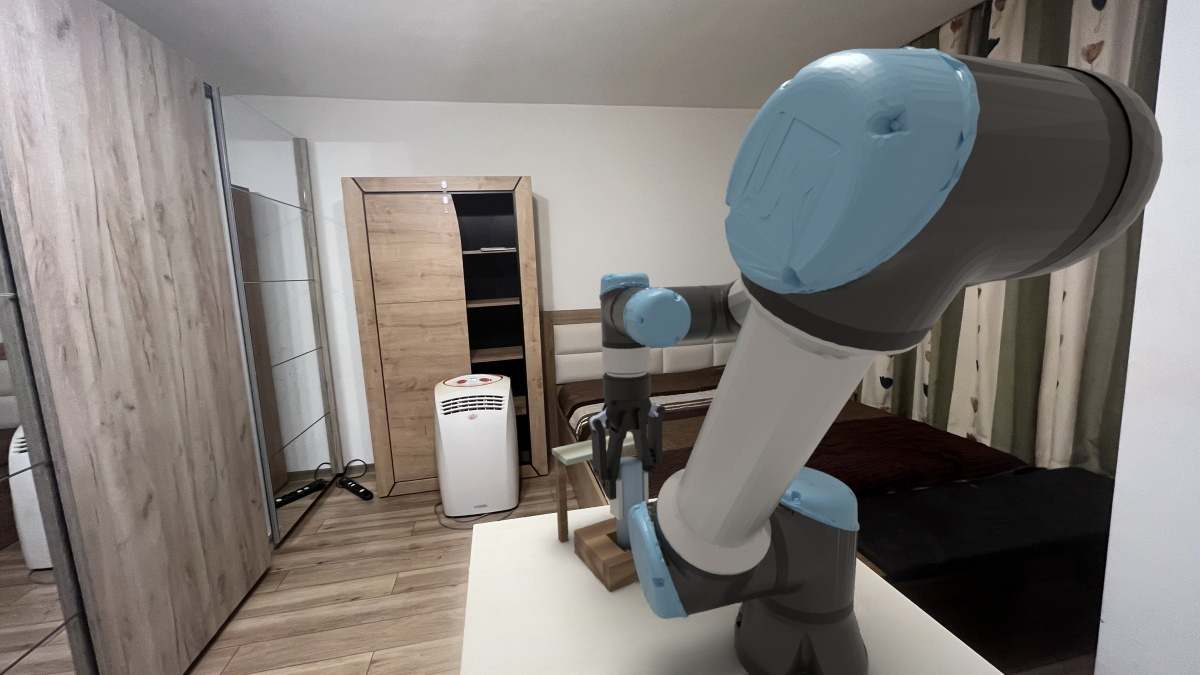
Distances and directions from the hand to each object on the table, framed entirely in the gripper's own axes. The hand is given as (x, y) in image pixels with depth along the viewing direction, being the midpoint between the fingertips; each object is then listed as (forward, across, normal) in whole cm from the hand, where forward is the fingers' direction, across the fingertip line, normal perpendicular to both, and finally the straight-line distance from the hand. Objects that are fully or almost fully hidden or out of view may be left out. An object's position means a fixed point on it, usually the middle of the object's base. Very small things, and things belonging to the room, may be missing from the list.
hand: (629, 511), depth 77 cm
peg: (+6, 0, 0) cm, 6 cm away
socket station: (+9, 0, -4) cm, 9 cm away
